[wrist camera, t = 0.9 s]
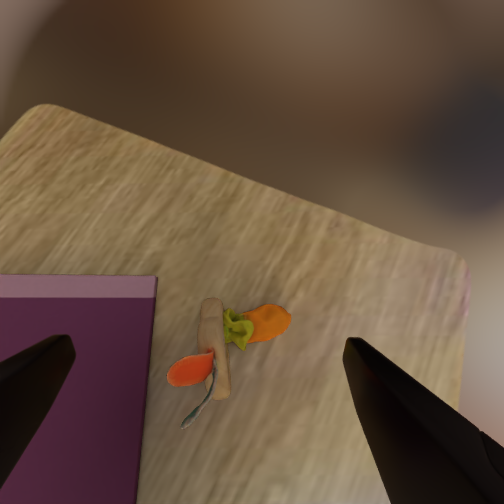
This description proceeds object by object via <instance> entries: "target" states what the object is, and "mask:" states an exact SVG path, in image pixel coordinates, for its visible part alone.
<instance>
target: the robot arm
mask: <svg viewBox="0 0 504 504" xmlns="http://www.w3.org/2000/svg"><path fill="white" fill-rule="evenodd" d="M75 359H76V351H75V348H74V345H73V342H72V339H71V337H70V336H69V335H68V334H54V335H51V336H49V337H48V338H46V339H44V340H42V341H40V342H38V343H36V344H34V345H32V346H30V347H28V348H26V349H24V350H22V351H20V352H19V353H17V354H15V355H13V356H11V357H9V358H7V359H5V360H3V361H1V362H0V490H1V488H2V486H3V485H4V483H5V482H6V480H7V478H8V477H9V475H10V474H11V472H12V470H13V469H14V467H15V465H16V464H17V462H18V461H19V459H20V457H21V456H22V454H23V453H24V451H25V449H26V448H27V446H28V445H29V443H30V441H31V440H32V438H33V437H34V435H35V433H36V432H37V430H38V429H39V427H40V425H41V424H42V422H43V421H44V419H45V417H46V416H47V414H48V412H49V411H50V409H51V407H52V405H53V403H54V401H55V399H56V397H57V395H58V393H59V392H60V390H61V388H62V386H63V384H64V382H65V380H66V378H67V376H68V374H69V372H70V370H71V368H72V366H73V364H74V362H75ZM343 364H344V368H345V372H346V376H347V379H348V383H349V387H350V390H351V394H352V398H353V402H354V405H355V409H356V412H357V415H358V418H359V420H360V423H361V426H362V428H363V431H364V434H365V436H366V439H367V442H368V444H369V447H370V449H371V452H372V455H373V457H374V460H375V463H376V465H377V468H378V471H379V473H380V476H381V479H382V481H383V484H384V487H385V489H386V492H387V495H388V497H389V500H390V502H391V504H504V448H503V447H502V446H501V445H500V444H498V443H497V442H496V441H494V440H493V439H492V438H491V437H489V436H488V435H487V434H485V433H484V432H483V431H480V430H479V429H478V428H477V427H476V426H475V425H474V424H472V423H471V422H470V421H468V420H467V419H466V418H464V417H463V416H462V415H461V414H459V413H458V412H457V411H455V410H454V409H453V408H452V407H450V406H449V405H448V404H446V403H445V402H444V401H442V400H441V399H440V398H439V397H437V396H436V395H435V394H433V393H432V392H431V391H429V390H428V389H427V388H426V387H424V386H423V385H422V384H420V383H419V382H418V381H416V380H415V379H414V378H413V377H411V376H410V375H409V374H407V373H406V372H405V371H404V370H402V369H401V368H400V367H398V366H397V365H396V364H394V363H393V362H392V361H391V360H389V359H388V358H387V357H385V356H384V355H383V354H381V353H380V352H379V351H378V350H376V349H375V348H374V347H372V346H371V345H370V344H368V343H367V342H366V341H365V340H363V339H362V338H359V337H349V338H347V340H346V344H345V348H344V353H343Z"/></svg>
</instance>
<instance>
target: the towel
mask: <svg viewBox="0 0 504 504" xmlns="http://www.w3.org/2000/svg"><path fill="white" fill-rule="evenodd" d="M157 281H158V277H156V276H128V275H28V274H0V362H1V361H3V360H5V359H7V358H9V357H11V356H13V355H15V354H17V353H19V352H20V351H22V350H24V349H26V348H28V347H30V346H32V345H34V344H36V343H38V342H40V341H42V340H44V339H46V338H48V337H49V336H51V335H54V334H68V335H69V336H70V337H71V339H72V342H73V345H74V348H75V351H76V359H75V362H74V364H73V366H72V368H71V370H70V372H69V374H68V376H67V378H66V380H65V382H64V384H63V386H62V388H61V390H60V392H59V393H58V395H57V397H56V399H55V401H54V403H53V405H52V407H51V409H50V411H49V412H48V414H47V416H46V417H45V419H44V421H43V422H42V424H41V425H40V427H39V429H38V430H37V432H36V433H35V435H34V437H33V438H32V440H31V441H30V443H29V445H28V446H27V448H26V449H25V451H24V453H23V454H22V456H21V457H20V459H19V461H18V462H17V464H16V465H15V467H14V469H13V470H12V472H11V474H10V475H9V477H8V478H7V480H6V482H5V483H4V485H3V486H2V488H1V490H0V504H136V496H137V486H138V476H139V465H140V455H141V445H142V435H143V424H144V414H145V404H146V394H147V384H148V373H149V363H150V353H151V343H152V332H153V322H154V312H155V302H156V291H157Z"/></svg>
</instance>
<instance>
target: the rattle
mask: <svg viewBox="0 0 504 504" xmlns="http://www.w3.org/2000/svg"><path fill="white" fill-rule="evenodd" d="M290 322H291V314H289V313H288V312H287V311H286V310H285V309H284V308H282V307H281V306H277V305H273V304H266V305H263V306H260V307H258V308H256V309H255V310H253V311H248V312H244V313H242V314H235V312H234V310H232V309H231V308H228V309H227V310H226V311H224V310H223V304H222V302H221V300H220V299H218V298H209V299H206V300H204V302H203V303H202V306H201V314H200V324H199V326H198V334H197V343H198V355H189V356H186V357H183V358H181V359H180V360H178V361H177V362H175V363H174V364H173V365H172V366H171V367H170V369H169V371H168V374H167V381H168V382H169V383H170V384H171V385H173V386H175V387H179V386H190V385H195V384H197V383H201V382H202V381H204V380H205V386H206V390H207V393H208V394H207V396H206V397H205V399H204V400H203V402H202V403H201V404H200V405H199V406H198V407H196V408H195V409H194V410H193V411H192V412H191V413H190V414H189V415H188V416H187V417H186V418H185V419H184V420H183V422H182V424H181V426H180V428H183V429H185V428H187V427H188V426H189V425H191V424H192V423H193V421H194V420H195V419H197V417H198V415H199V413H200V412H201V411H202V409H203V408H204V407H205V406H206V405H207V403H208V402H209V401H210V400H211V399H214V400H222V399H226V398H227V397H228V396H229V395H230V392H231V374H230V361H229V352H228V342H231V341H234V342H235V344H236V345H237V346H238V347H239V348H240V349H241V350H243V351H245V350H246V344H247V343H253V342H256V341H267V340H270V339H272V338H274V337H276V336H277V335H279V334H282V333H283V332H284V331H285V330H286V329H287V328H288V326H289V324H290Z"/></svg>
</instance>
